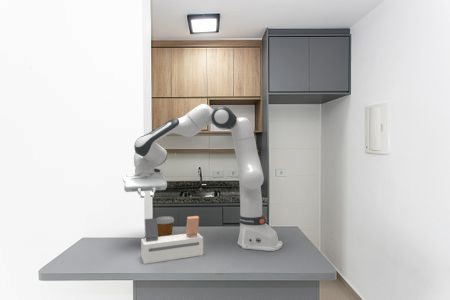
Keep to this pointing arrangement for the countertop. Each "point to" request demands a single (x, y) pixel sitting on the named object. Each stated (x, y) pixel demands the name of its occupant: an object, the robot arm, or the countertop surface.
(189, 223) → the rocker terracotta
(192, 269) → the countertop surface
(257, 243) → the robot arm
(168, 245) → the switch box
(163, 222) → the disposable coffee cup
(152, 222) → the rocker charcoal
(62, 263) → the countertop surface
